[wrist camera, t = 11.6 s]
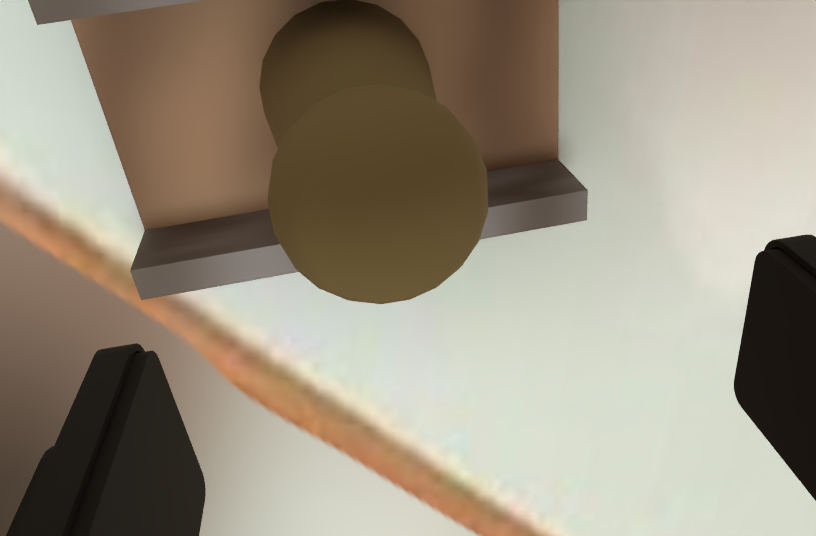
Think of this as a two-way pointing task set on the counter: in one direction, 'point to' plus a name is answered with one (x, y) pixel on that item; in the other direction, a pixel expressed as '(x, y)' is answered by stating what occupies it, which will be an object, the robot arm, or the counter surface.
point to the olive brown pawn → (367, 157)
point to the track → (251, 135)
